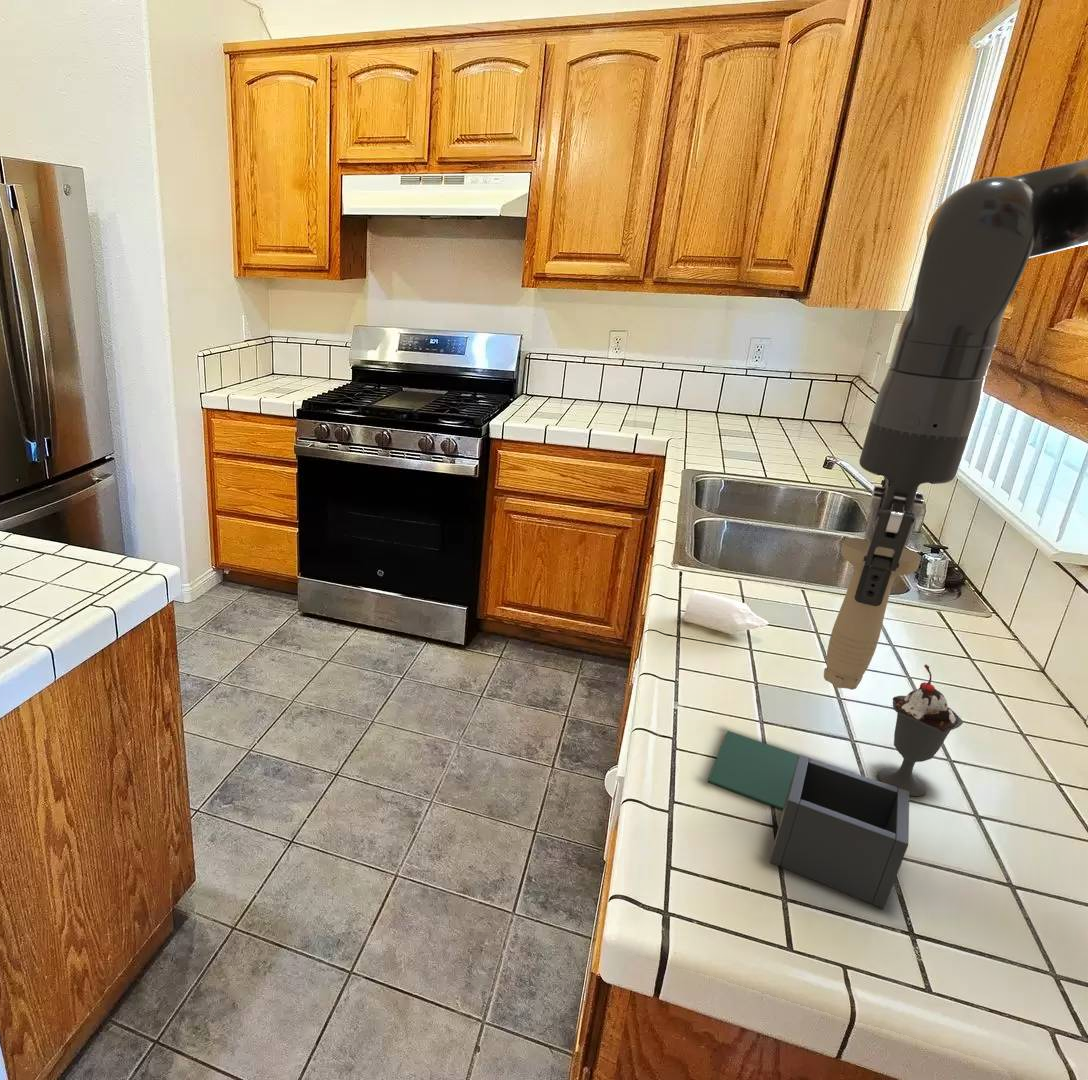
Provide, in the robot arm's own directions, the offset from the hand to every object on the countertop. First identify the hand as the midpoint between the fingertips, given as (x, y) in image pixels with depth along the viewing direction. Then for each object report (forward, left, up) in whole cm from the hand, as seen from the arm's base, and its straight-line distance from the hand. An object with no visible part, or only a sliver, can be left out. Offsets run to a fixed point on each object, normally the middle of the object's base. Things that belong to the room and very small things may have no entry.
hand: (868, 592), depth 74 cm
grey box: (-3, +6, -28) cm, 28 cm away
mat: (+3, -5, -28) cm, 28 cm away
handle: (0, 0, -11) cm, 11 cm away
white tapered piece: (+16, -41, -28) cm, 52 cm away
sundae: (-9, -13, -28) cm, 32 cm away
